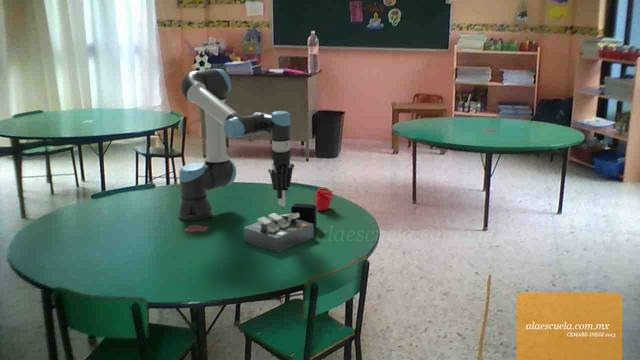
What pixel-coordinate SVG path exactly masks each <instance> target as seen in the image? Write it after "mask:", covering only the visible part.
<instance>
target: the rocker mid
mask: <svg viewBox="0 0 640 360" xmlns="http://www.w3.org/2000/svg"><path fill="white" fill-rule="evenodd" d="M267 219H270V220H272V219H274V220H277V225H279V226H280V227H282V228H286V227H288V226H289V224H290V223H289V222H288V221H287V220H285V219H284V218H282V217H280V216H279V214H277V213H275V212H273V213H270V214H268V216H267Z"/></svg>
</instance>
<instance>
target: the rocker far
mask: <svg viewBox="0 0 640 360" xmlns="http://www.w3.org/2000/svg"><path fill="white" fill-rule="evenodd" d="M283 215H284V216H287V217H288V219H295V218H298V217H300V215H299V213H292V214H290V213H287V214H285V213H284V214H282V216H283ZM280 217H281V216H280Z"/></svg>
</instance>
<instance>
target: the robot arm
mask: <svg viewBox="0 0 640 360" xmlns="http://www.w3.org/2000/svg"><path fill="white" fill-rule="evenodd" d="M179 88H180V92H181V94H182V96H183V98H185V100H187V101H188V102H189V103H191V104H195V105H197V106H198V107H199V108H201V109H202V110H203V111H204V121H205V134H206V137H205V138H206V149H207V156H206V157H205V158H204V163H203V162H192V163H188V164H185V165H183V166H182V167H181V168H180V169H179V174H178V175H179V176H178V179H179V187H180V203H179V208H178V211H177V212H178V213H177V216H178V218H179V219H180V220H184V221H201V220H205V219H208V218H210V217H212V215H213V208H212V206H211V203H210V201H209V198H208V191H211V190H215V189H218V188H224V187H226V186H230V185H231V184H233V182H234V181H235V179H236V177H237V168H236V165H235V163H234V161H233V160H232V159H231V157H230V156H229V155H228V154H227V143H226V141H227V140H226V136H227V137H228V138H230V139H233V138H241V137H246V136H250V135H256V134H261V133H262V134H263V133H268V134H271V150H272V151H271V158H272V159H271V160H273V161H272V162H273V163H272V167H271V168H269V169H268V170H267V171H268V173H269V175H270V180H271V184H272V190H274V191H276V192H277V194H276V195H277V199H278V202H277V203H278V206H281V207H285V206H286V202H287V201H286V199H287V191H289V188H290V187H291V182H292V176H293V170H294V167H295V164H294V163H291V114H290V113H289V112H288V111H286V110H285V111H284V110H275V111H273V112H271V114H270V113H267V112H262V111H259V112H258V111H256V112H254V113H253V114H252V115H247V116H242V115H241V114H239V113H238V112H237V111H235V110H234V109H233V108H231V107H230V106H229V105H227V104H226V103H225V102H226V100H227V95H228V94H230V92H231V89H232V82H231V78H230V76H229V74H228V73H227V72H226V71H225V70H223V69H221V68H210V69H201V70H193V71H188V72H187V73H186V74H184V76H183V77H182V79H181V81H180V86H179Z"/></svg>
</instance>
